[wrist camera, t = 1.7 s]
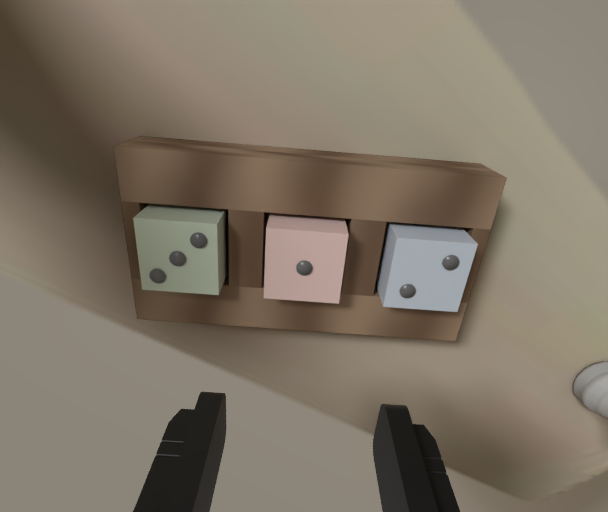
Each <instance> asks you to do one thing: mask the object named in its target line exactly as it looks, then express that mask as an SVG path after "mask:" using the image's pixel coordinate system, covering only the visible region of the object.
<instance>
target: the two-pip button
mask: <svg viewBox="0 0 608 512" xmlns="http://www.w3.org/2000/svg"><path fill="white" fill-rule="evenodd" d="M477 246H478V243H477V242H476V241H475V240H474V239H473V238H472V237H471V236H470V235H469V234H468V233H467V232H466V231H465V230H464V229H463V228H462V227H449V226H436V225H423V224H410V223H397V222H388V227H387V232H386V238H385V243H384V248H383V254H382V259H381V264H380V270H379V275H378V281H377V289H378V292H379V295H380V299H381V302H382V305H383V307H393V308H407V309H421V310H435V311H449V312H457V311H458V308H459V305H460V301H461V298H462V295H463V292H464V288H465V285H466V282H467V278H468V275H469V272H470V269H471V265H472V262H473V259H474V255H475V252H476V249H477Z"/></svg>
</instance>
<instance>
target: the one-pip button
mask: <svg viewBox="0 0 608 512" xmlns="http://www.w3.org/2000/svg"><path fill="white" fill-rule="evenodd" d="M348 235H349V234H348V230H347V226H346V222H345V218H332V217H319V216H306V215H293V214H279V213H270V215H269V219H268V223H267V227H266V246H265V273H264V298H267V299H281V300H295V301H309V302H323V303H337V304H339V299H340V292H341V285H342V278H343V271H344V264H345V256H346V249H347V242H348Z"/></svg>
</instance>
